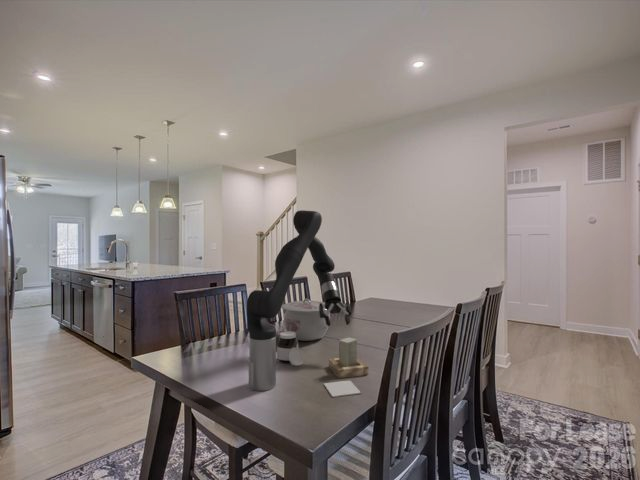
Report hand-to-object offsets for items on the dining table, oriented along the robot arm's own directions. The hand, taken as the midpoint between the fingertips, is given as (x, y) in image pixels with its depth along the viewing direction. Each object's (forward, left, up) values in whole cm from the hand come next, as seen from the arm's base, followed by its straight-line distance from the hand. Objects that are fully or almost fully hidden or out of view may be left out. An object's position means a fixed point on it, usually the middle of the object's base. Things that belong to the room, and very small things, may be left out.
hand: (338, 324), depth 141 cm
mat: (-8, -26, -15) cm, 31 cm away
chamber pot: (-5, +37, -16) cm, 40 cm away
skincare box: (0, -11, -16) cm, 19 cm away
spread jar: (-20, +4, -16) cm, 26 cm away
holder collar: (0, -11, -15) cm, 19 cm away
